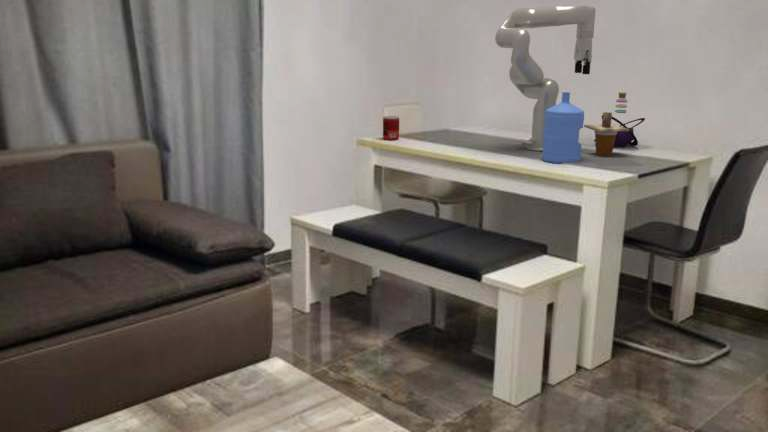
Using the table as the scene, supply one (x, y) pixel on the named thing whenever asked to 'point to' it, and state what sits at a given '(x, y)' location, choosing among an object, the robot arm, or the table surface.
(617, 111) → the decorative bottle
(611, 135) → the disposable coffee cup
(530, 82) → the robot arm
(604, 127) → the oak lid
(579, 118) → the water jug
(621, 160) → the rubber mat
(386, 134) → the canned food
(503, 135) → the table surface
